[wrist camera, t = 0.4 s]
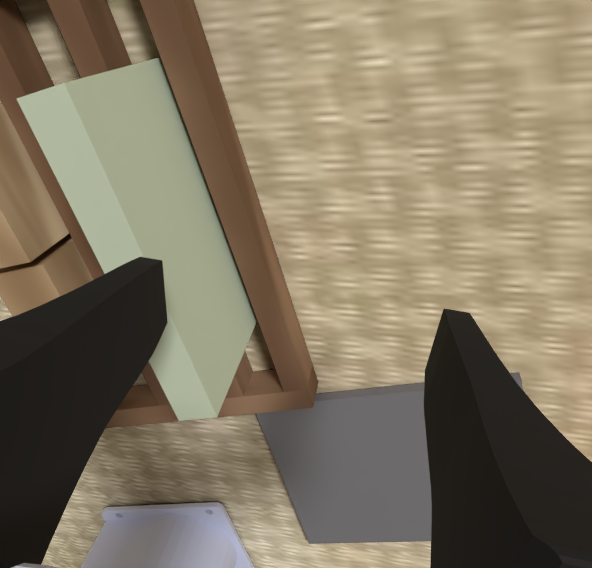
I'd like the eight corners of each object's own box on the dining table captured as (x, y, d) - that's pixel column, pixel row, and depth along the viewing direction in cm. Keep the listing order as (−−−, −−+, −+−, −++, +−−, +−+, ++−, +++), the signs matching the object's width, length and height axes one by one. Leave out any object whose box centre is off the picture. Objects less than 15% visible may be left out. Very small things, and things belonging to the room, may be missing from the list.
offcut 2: (93, 334, 29) (52, 380, 25) (41, 239, 26) (-13, 276, 22) (139, 327, 28) (103, 373, 24) (90, 227, 25) (42, 264, 22)
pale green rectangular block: (234, 308, 26) (178, 421, 19) (140, 64, 21) (16, 98, 14) (263, 303, 26) (217, 417, 19) (174, 53, 20) (63, 83, 13)
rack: (105, 405, 31) (88, 429, 29) (-128, 4, 21) (-173, 5, 20) (318, 381, 27) (313, 407, 26) (155, -118, 18) (129, -130, 16)
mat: (310, 535, 34) (308, 543, 34) (255, 400, 29) (253, 407, 28) (534, 529, 30) (537, 538, 30) (519, 372, 25) (521, 380, 24)
